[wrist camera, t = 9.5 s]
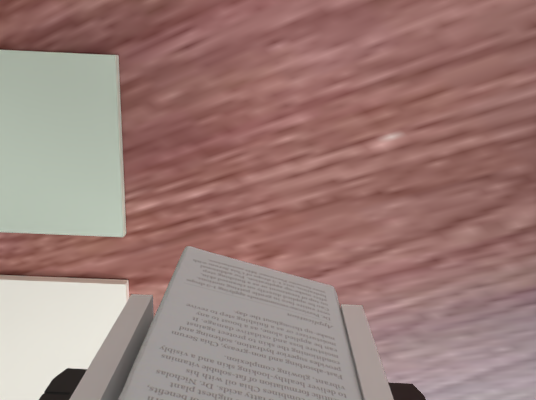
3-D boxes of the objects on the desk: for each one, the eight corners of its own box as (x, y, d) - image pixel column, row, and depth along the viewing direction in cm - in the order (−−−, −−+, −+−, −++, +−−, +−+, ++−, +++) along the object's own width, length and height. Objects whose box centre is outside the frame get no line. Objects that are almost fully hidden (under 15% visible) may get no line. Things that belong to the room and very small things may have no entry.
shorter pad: (118, 55, 26) (115, 55, 25) (126, 233, 29) (123, 237, 28) (-114, 44, 26) (-122, 44, 25) (-82, 224, 29) (-89, 228, 28)
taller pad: (128, 279, 30) (125, 284, 29) (134, 416, 33) (131, 423, 32) (-74, 271, 30) (-80, 276, 29) (-49, 410, 32) (-55, 416, 32)
